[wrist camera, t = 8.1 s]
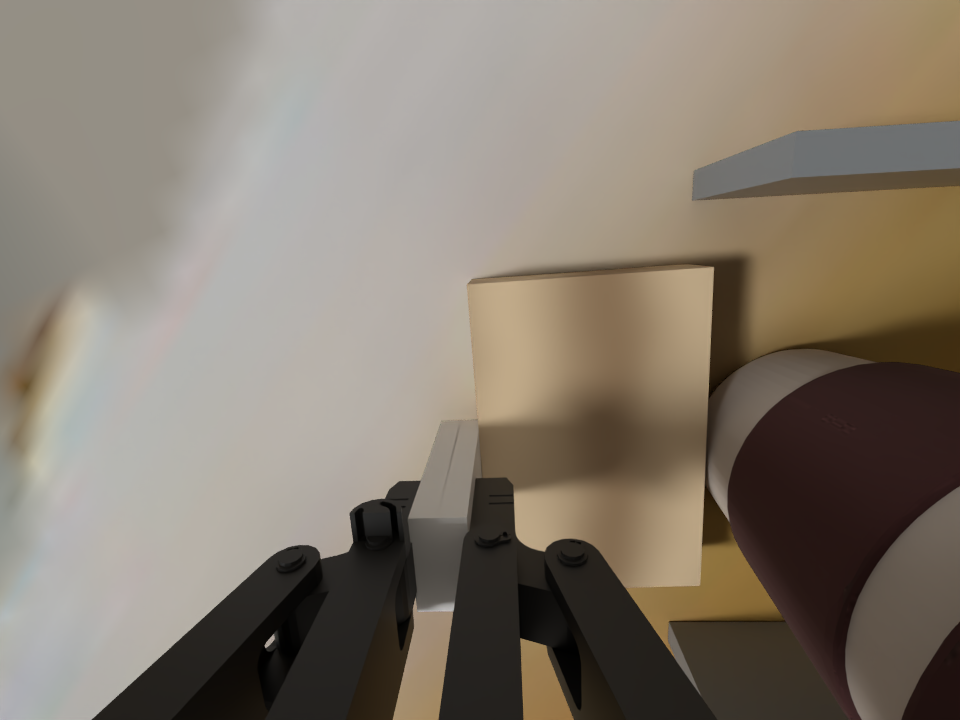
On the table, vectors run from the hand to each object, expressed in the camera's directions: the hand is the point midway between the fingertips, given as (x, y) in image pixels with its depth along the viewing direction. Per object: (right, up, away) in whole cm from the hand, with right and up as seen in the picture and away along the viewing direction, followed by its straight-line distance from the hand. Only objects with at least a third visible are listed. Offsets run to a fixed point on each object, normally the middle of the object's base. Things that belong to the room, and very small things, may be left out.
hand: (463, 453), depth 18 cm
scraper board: (+5, +1, +1) cm, 5 cm away
